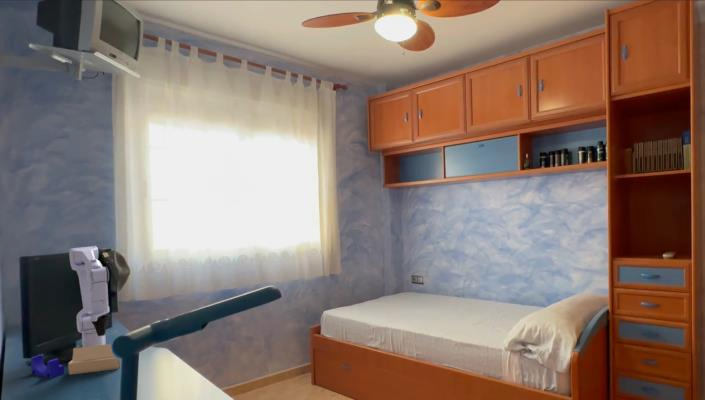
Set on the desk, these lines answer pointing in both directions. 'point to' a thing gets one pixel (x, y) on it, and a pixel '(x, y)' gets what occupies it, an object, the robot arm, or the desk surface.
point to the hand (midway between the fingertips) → (101, 335)
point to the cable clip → (49, 371)
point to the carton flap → (92, 352)
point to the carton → (93, 365)
